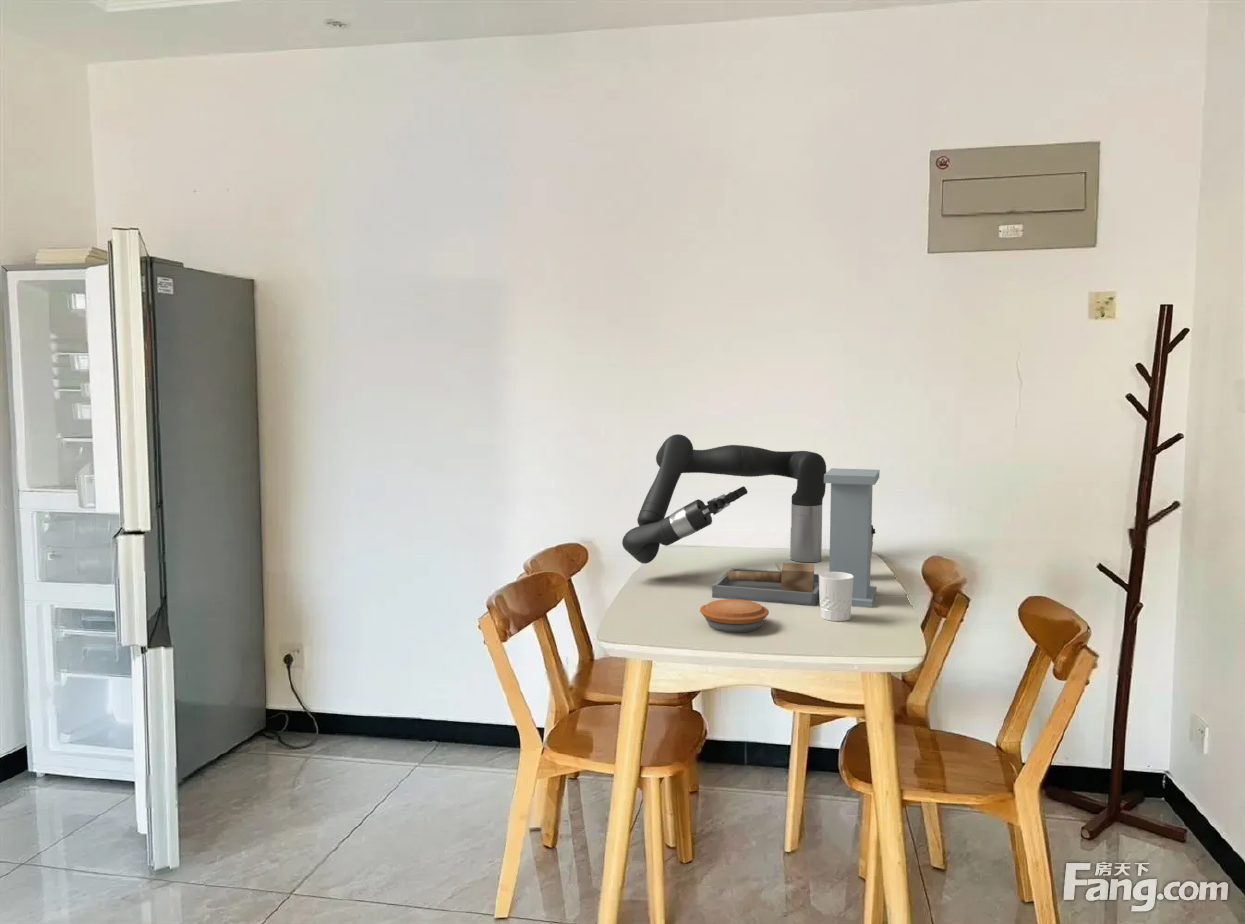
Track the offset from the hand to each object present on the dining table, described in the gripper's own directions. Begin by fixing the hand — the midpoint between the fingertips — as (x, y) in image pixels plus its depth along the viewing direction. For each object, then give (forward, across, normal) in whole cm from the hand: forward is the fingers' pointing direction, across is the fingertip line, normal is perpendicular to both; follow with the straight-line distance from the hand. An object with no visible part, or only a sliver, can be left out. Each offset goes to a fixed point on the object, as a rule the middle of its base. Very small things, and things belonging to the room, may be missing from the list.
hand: (742, 491), depth 227 cm
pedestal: (+11, 0, +36) cm, 38 cm away
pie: (-8, -34, +26) cm, 43 cm away
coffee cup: (+11, +23, +36) cm, 44 cm away
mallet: (-6, 0, +26) cm, 26 cm away
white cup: (+10, -20, +36) cm, 42 cm away
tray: (-6, 0, +26) cm, 27 cm away
